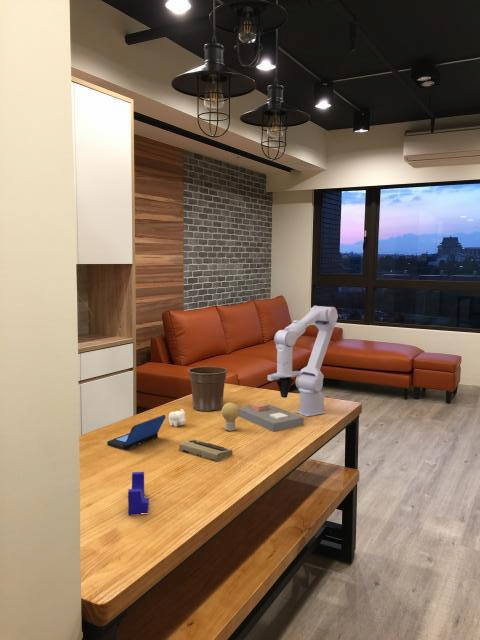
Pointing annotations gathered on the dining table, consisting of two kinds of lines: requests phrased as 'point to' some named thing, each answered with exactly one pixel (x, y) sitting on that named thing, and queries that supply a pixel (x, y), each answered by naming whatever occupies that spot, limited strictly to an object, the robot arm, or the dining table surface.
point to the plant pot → (207, 387)
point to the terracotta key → (260, 406)
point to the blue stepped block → (137, 495)
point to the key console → (271, 418)
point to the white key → (278, 415)
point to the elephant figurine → (177, 418)
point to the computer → (205, 450)
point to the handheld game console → (138, 434)
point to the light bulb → (230, 415)
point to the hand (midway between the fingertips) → (284, 397)
